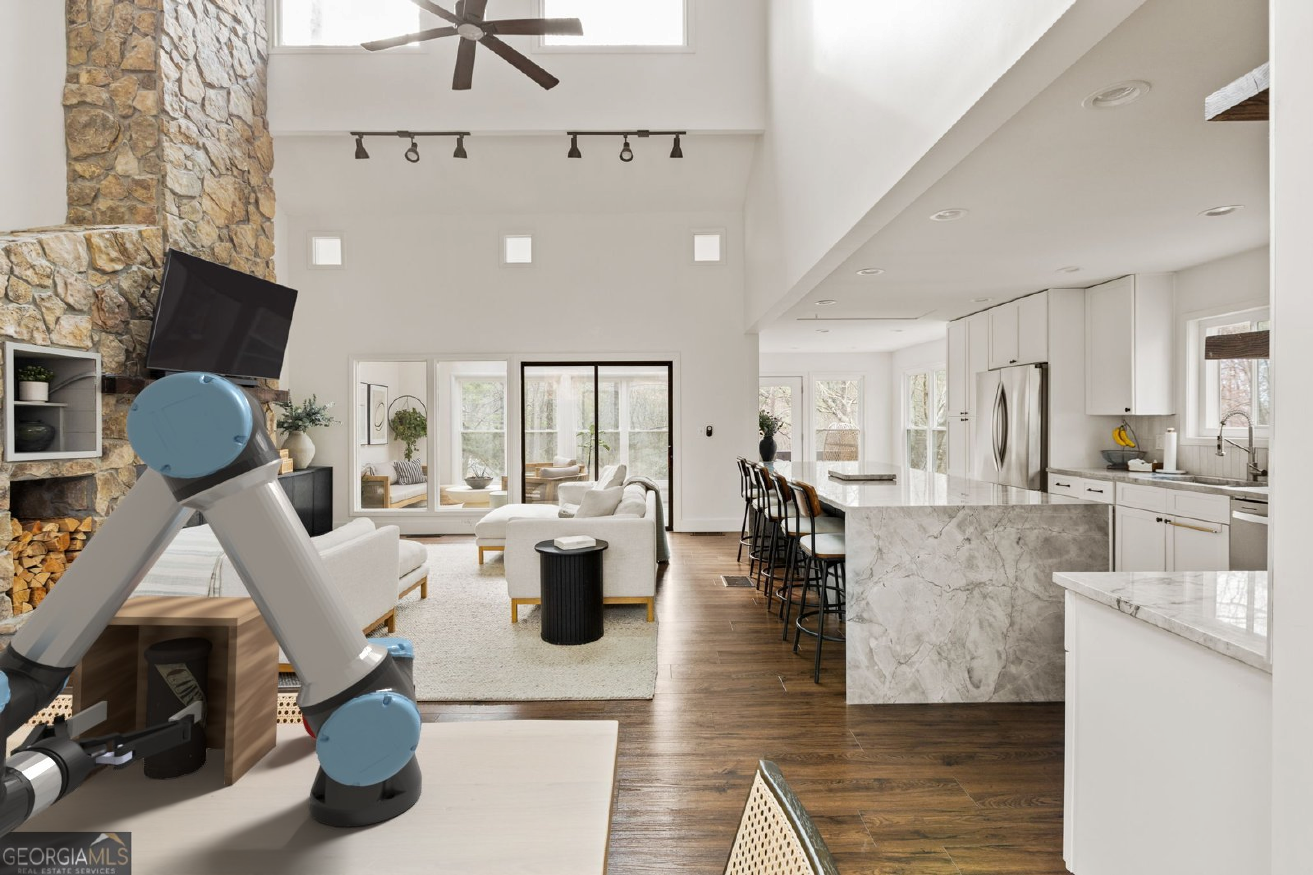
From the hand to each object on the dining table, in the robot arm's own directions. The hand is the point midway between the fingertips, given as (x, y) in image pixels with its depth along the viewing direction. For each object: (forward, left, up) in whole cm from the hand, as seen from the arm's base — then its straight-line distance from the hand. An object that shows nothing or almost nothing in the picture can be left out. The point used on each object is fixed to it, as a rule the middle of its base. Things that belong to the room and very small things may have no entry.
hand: (151, 709), depth 102 cm
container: (-1, -5, -11) cm, 12 cm away
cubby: (-1, -5, -11) cm, 12 cm away
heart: (-20, -14, -11) cm, 27 cm away
